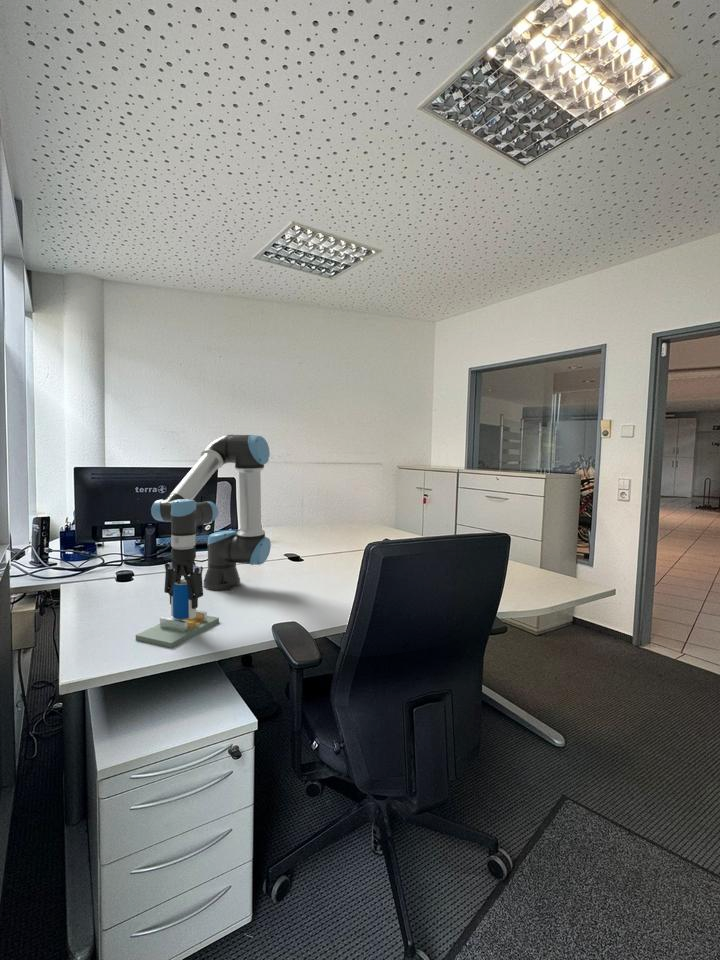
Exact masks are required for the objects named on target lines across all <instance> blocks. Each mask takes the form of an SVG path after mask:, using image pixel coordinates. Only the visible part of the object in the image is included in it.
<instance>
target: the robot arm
mask: <svg viewBox="0 0 720 960" xmlns="http://www.w3.org/2000/svg"><path fill="white" fill-rule="evenodd" d="M270 455H271V453H270V447H269V444H268V442H267V440H266V439H265V437H263V436H261V435H257V434H256V435H255V434H226V435H223V436H219V438H217V439H215V440H213V441H212V442H210V443H208V445H207V446H206V447H205V448H204V449H203V450H202V452H201V453H200V458H199V460H197V462H196V463H195V464H194V465H193V466H192V467H191V469H190V470H189V471H188V472H187V474H186V475H184V477H183V478H182V480H180V481H179V483H178V484H177V485H176V486H175V488H174V489H173V490H172V492H170V494H169V495H167V497H166V498H165V499H163V498H162V499H157V500H155V501H154V502H153V503H152V506H151V508H150V511H151V513H150V514H151V516H152V519H154V520H156V521H157V522H158V521H159V522H164V523H171V524H170V526H171V527H170V528H171V529H170V530H171V532H170V535H171V536H170V538H171V539H170V540H171V541H170V543H171V544H170V545H171V549H170V553H171V554H170V558H171V560H172V561H170V562H167V563H164V569H165V575H164V577H165V578H164V579H165V580H164V590H163V591H164V593H165V594H168V595H169V605H170V609H171V610H170V614H171V615H170V616H172V617H173V585H174V582H178V581H180V580H182V577H183V579H185V580H186V582H187V586H188V590H189V593H190V597H191V598H190V599H189V619H192V618H194V617H196V610H197V609H198V606H199V600H198V599H200V598H202V597H203V596H204V589H207V590H211V591H226V590H232V589H235V588H237V587H239V586H240V585H241V577H240V575H239V572H238V569H237V564H245V565H251V566H254V565H255V566H258V565H259V566H261V565H263V564H264V563H265V562H266V561H267V560H268V557H269V556H270V552H271V547H272V543H271V539H270V538H269V537H267V536H266V531H265V530H264V529H263V528H262V490H261V486H262V485H261V483H262V482H261V481H262V480H261V472H262V471H263V470H264V468H265V465H266V464H267V463H268V462H269V460H270ZM230 463H232V464H234V467H235V470H236V471H238V476H239V477H238V480H239V481H238V482H239V483H238V485H239V486H238V487H239V489H238V490H239V526H240V527H239V530H238V531H236V530H224V531H217V532H214V533H211V534H209V536H208V537H207V543H206V544H207V545H206V546H207V569H206V573H205V575H204V579H203V574H202V573H203V571H204V568H203V566H202V565H201V566H198V565H196V562H195V560H196V557H197V555H196V554H197V548H196V545H197V533H196V530H197V527H198V526H202V525H206V524H209V523H210V524H211V523H212V522H214V521H215V520H216V519H217V518H218V516H219V508H218V506H217V504H216V503H214V502H213V501H210V500H209V501H208V500H207V501H205V500H204V501H202V502H201V501H199V502H198V501H197V502H196V500H195V498H196V496H197V495H198V494H199V492H200V491H201V490H202V489H203V487H205V485H206V483H207V482H208V481H209V480H210V478H212V475H214V474H215V472H216V471H217V470H218V469H221V468H223V466H224V465H225V464H230ZM179 583H180V582H178V584H179Z"/></svg>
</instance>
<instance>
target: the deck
mask: <svg viewBox="0 0 720 960" xmlns="http://www.w3.org/2000/svg"><path fill="white" fill-rule="evenodd" d="M172 619H175V618H174V617H173V616H172ZM219 622H220V617H217V616H211V615H207V621H205V622H203V623H201V624H199V625H198V626H196V627H194V628H192V629H190V630H188V631H186V632H181V631H177V630H172V629H167V628H162V627H160V623H159V624H156V625H154V626H152V627H150V628H148V629H146V630H144V631H141V632H138V633H137V634H135V641H139V642H143V643H149V644H152V645H157V646H161V647H166V648H169V649H172V648H174V647H176V646H178V645H179V644H181V643H183V642H185V641H187V640H189V639H190V638H192V637H194V636H196V635H198V634H200V633H202V632H203V631H205V630H208V628H211V627H212V626H215V625H216V624H218V623H219Z"/></svg>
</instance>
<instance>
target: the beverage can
mask: <svg viewBox="0 0 720 960" xmlns="http://www.w3.org/2000/svg"><path fill="white" fill-rule="evenodd" d="M178 582H180V583H179V584H178ZM178 582H174V585H173V616H172V618H173V617H174V618H175V619H177V620H187V619H189V599H190V598H191V597H190V593H189V590H188V586H187V582H186V580H185V579H184V578H181V580H180V581H178Z"/></svg>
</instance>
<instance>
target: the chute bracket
mask: <svg viewBox="0 0 720 960" xmlns="http://www.w3.org/2000/svg"><path fill="white" fill-rule="evenodd" d="M207 613H208V612H207V611H203V610H199V609H198V610H197V609H196V617H194V618H192V619H187V620H177V619H172V618H173V617H172V618H171V617H168V616H167V617H166V616H161V617H160V618H159V624H160V627H162V628H167V629H172V630H177V631H181V632H186V631H188V630H190V629H192V628H194V627H196V626H198V625H199V624H201V623H203V622H205V621H207V616H208V614H207Z"/></svg>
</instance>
